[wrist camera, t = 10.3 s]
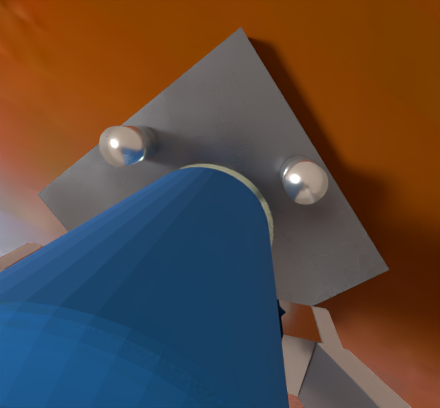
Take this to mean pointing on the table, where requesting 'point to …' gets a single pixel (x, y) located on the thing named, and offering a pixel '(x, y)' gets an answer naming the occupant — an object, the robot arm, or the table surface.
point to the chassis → (232, 170)
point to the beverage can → (149, 305)
